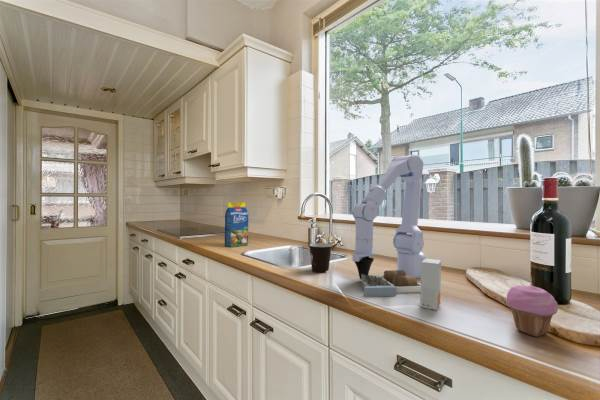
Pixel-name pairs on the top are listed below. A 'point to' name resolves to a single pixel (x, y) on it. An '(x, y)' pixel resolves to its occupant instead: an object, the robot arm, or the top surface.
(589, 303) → the top surface
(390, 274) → the racked roller
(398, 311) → the top surface
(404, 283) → the loose roller
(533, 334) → the cupcake
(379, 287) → the block
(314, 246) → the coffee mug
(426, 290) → the skincare box
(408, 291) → the white shallow tray
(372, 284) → the gravel pile
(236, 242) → the blue food package
